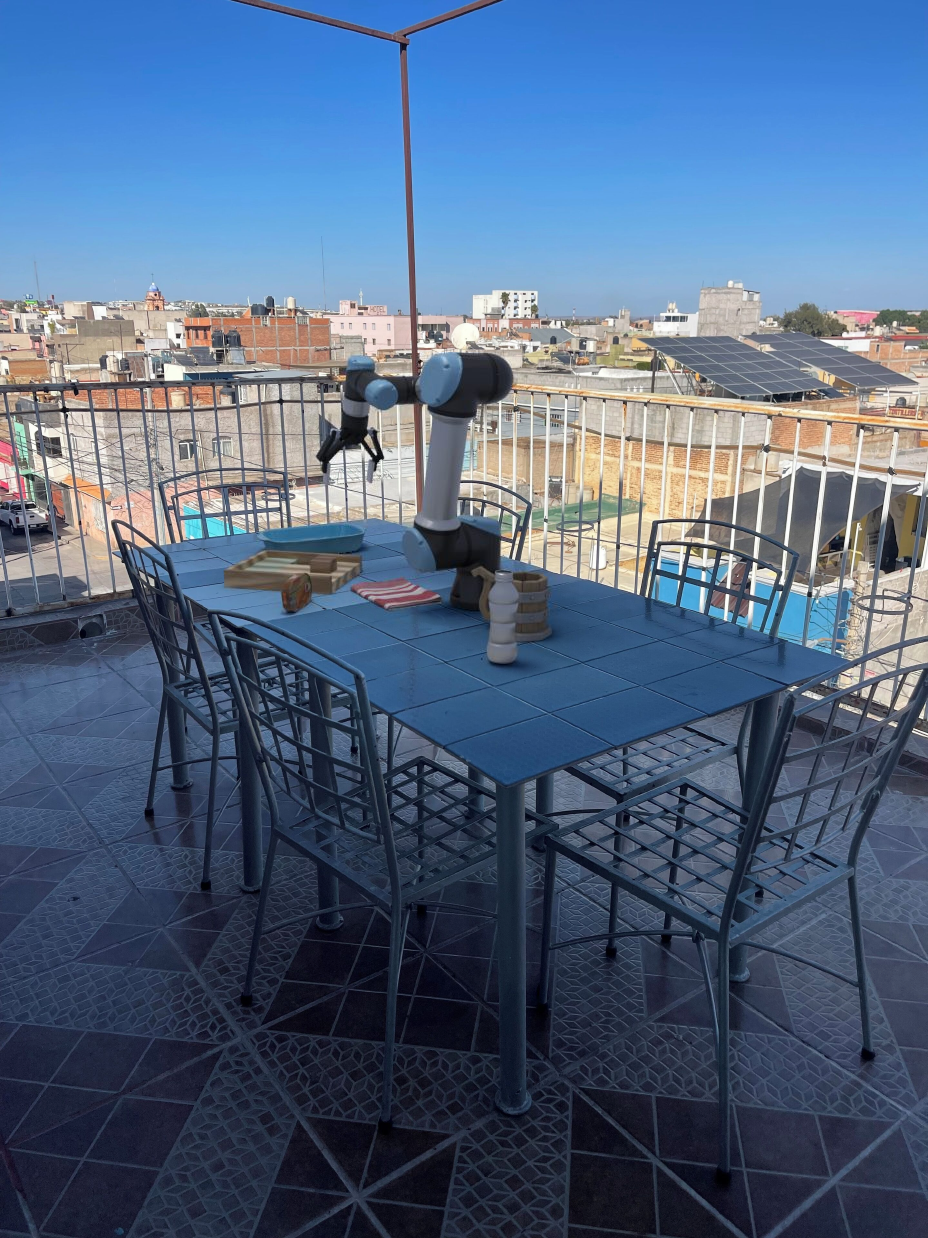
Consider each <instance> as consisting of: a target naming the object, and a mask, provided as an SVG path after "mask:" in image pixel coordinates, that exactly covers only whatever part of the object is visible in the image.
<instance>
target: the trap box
mask: <svg viewBox="0 0 928 1238" xmlns="http://www.w3.org/2000/svg"><path fill="white" fill-rule="evenodd" d="M317 556H320V557H337V570H335V571H334V572H332V573H331V574H322V573H310V560H312V559H314V558H315V557H317ZM362 559H363V557H362V555H361V554H358V555H357V554H346V553H343V554H327V553H310V552H292V551H274V550H267V549H263V550H262V551H260V552H257V553H255V554H254V555H252V556H250V557H248V558H246V559H244V560H242V561H240V562H238V563H236V564H234V565H232V566H230V567H227V568H225V569H224V570H223V581H224V588H227V589H229V588H230V589H242V590H256V591H258V590H259V591H270V590H271V591H273V592H274V591H275V592H281V589H282V585H283V583H284V582H285V581H286V580H288V579H289V578H291V577H292V576H294V575H295V574H297V573H307V574H308V575H309V576H310V579H311V583H312V594H317V593H318V594H317V595H332V594H333V593H335V592H336V591H337V590H338V589H341V587H343V586H345V584H347V583H349V582H350V581H352V580H353V579H354V578H355V577H357V576H359V575H360V572H361V573H362V572H363V560H362Z"/></svg>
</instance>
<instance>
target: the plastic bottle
mask: <svg viewBox="0 0 928 1238" xmlns="http://www.w3.org/2000/svg"><path fill="white" fill-rule="evenodd" d="M513 572H514V571H512V570H509V569H500V570H497V571H495V581H496V583H495V584H494V586H493V587H492V589H491V590H490V592H489V595H488V600H489V608H490V620H491V621H489V622H490V623H489V624H490V626H489V635H488V641H487V646H486V655H487V658H488V660H489V661H490V662H492V663H494V664H499V665H500V664H506V665H507V664H511V663H513V662H514V661H515V660H516V658H517V656H518V655H517V654H518V644H517V643H518V642H517V641H516V632H515V624H516V622H515V621H516V613H517V607H518V601H519V594H518V591H517V590H516V588H515V587H514V585H513V584H512V581H513Z"/></svg>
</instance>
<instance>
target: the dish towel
mask: <svg viewBox="0 0 928 1238" xmlns="http://www.w3.org/2000/svg"><path fill="white" fill-rule="evenodd" d="M350 591H352V592H353V593H356V595H358V596H360V597H362V598H364V599H366V600H367V601H370V602H371V601H372V603H374V605H376V606H378V605H379V606H378V607H380V608H382V609H384V610H387V611H388V612H391V611H390V610H393V611H398V609H400V610H404V608H406V609H412V608H411V607H413V608H417V607H416V606H419V607H423V606H430V605H436V604H442V600H443V598H442V596H441V595H440V594H438V593H437V592H435V591H433V590H429V589H425V588H424V587H422V586H419V584H418V585H417V584H413V583H411V582H409V581H408V580H407V579H406V578H405V577H399V578H395V579H391V580H386V581H375V582H374V581H371V582H367V581H362V582H358V583H355V584H352V585H351V587H350Z"/></svg>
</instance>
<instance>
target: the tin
mask: <svg viewBox="0 0 928 1238" xmlns="http://www.w3.org/2000/svg"><path fill="white" fill-rule="evenodd" d="M280 593H281V603H282V607H283V610H284V611H286V612H289V613H290V612H294V613H298V612H299V611H300V610H302V609H303V608H304V607H305V606H307V605H308V604H309V603H310V602H311V600H312V595H313V593H312V583H311V579H310V576H309V575H308V574H307V573H297V574H295V575H294V576H292V577H291V578H289V579H288V580H286V581H285V582H284V583H283V585H282V589H281V591H280Z"/></svg>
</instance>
